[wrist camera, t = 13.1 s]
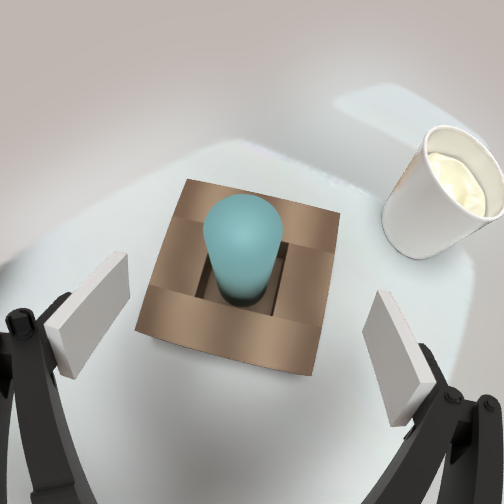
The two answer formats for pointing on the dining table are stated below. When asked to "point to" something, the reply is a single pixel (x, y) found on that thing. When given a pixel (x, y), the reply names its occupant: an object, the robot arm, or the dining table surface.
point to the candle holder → (443, 194)
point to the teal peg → (242, 246)
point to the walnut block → (243, 318)
